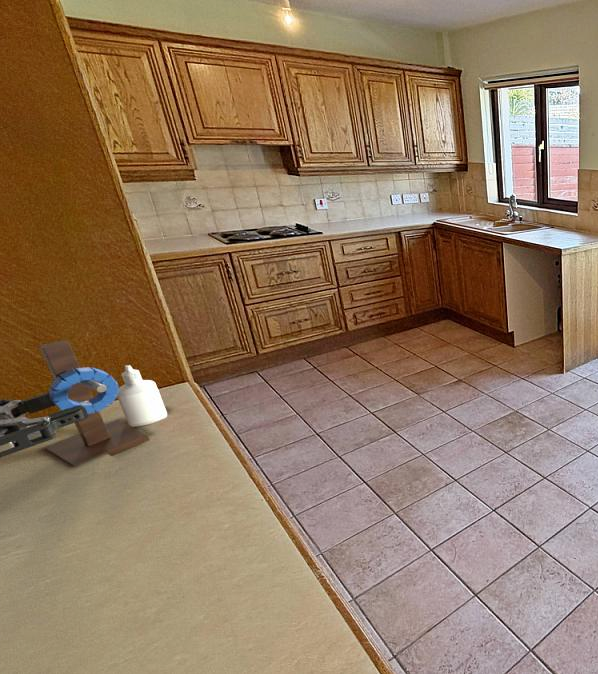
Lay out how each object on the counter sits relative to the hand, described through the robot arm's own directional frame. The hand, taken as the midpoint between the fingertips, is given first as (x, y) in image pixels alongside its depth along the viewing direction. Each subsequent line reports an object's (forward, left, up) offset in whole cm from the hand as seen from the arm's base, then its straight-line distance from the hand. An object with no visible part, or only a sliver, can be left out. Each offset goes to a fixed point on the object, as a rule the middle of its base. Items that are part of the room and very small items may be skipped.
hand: (72, 403), depth 75 cm
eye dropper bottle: (-9, +11, -13) cm, 19 cm away
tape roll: (-1, +2, +1) cm, 2 cm away
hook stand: (-4, +3, -13) cm, 13 cm away
